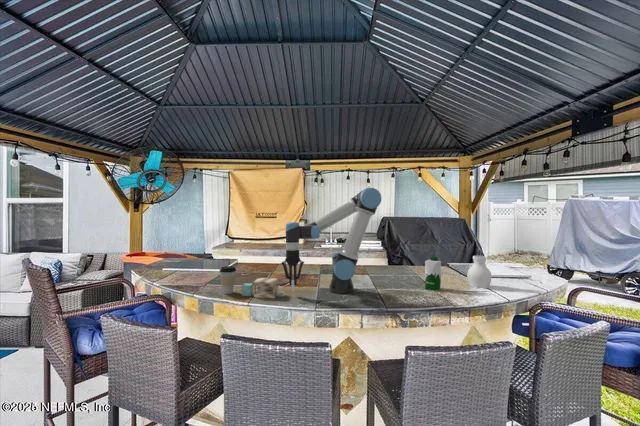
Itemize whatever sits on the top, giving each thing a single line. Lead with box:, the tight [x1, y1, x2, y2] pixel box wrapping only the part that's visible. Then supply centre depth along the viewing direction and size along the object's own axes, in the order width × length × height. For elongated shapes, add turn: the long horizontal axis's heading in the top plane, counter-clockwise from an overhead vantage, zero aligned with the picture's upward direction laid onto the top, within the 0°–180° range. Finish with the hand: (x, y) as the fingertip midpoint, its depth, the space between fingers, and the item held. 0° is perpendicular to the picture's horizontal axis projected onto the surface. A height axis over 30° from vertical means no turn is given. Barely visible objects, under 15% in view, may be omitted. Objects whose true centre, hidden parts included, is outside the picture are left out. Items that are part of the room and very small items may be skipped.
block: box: [241, 282, 254, 297], centre depth 169 cm, size 5×5×6 cm
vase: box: [467, 255, 492, 289], centre depth 194 cm, size 14×14×20 cm
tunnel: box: [253, 277, 279, 299], centre depth 168 cm, size 12×9×9 cm
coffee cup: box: [219, 265, 237, 295], centre depth 173 cm, size 9×9×15 cm
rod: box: [251, 289, 286, 297], centre depth 169 cm, size 19×3×3 cm, turn 84°
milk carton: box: [424, 256, 442, 291], centre depth 187 cm, size 9×9×20 cm
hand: (293, 290), depth 167 cm, fingers closed
